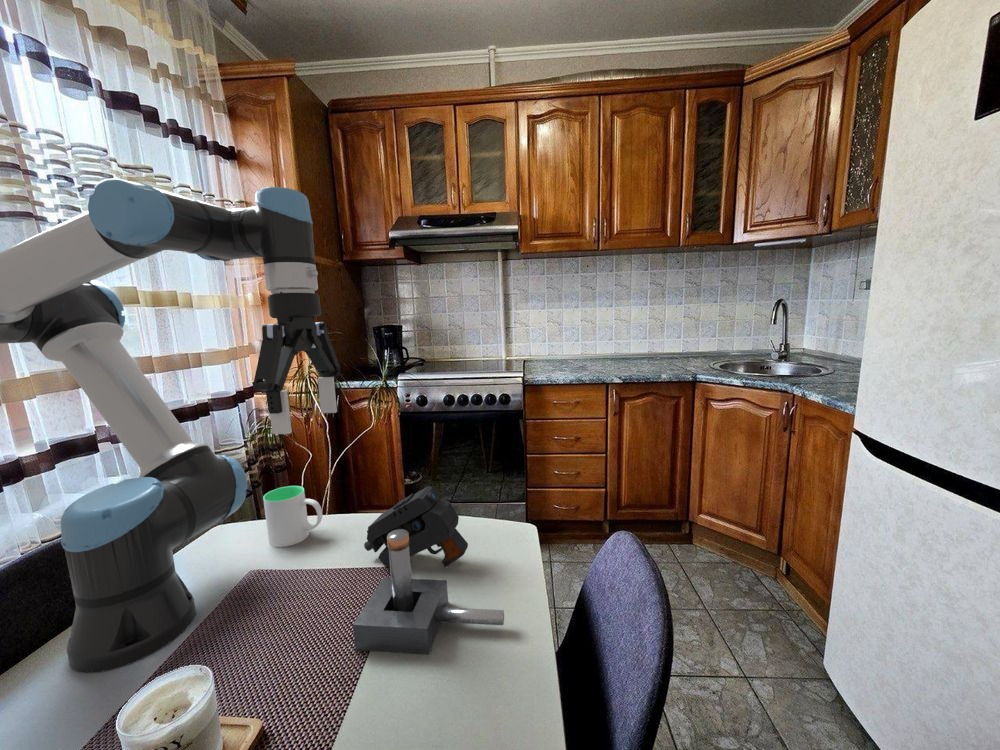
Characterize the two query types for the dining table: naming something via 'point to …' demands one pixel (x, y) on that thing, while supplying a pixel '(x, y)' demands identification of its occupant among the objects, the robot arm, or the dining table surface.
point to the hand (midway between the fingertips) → (307, 422)
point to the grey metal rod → (400, 570)
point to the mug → (288, 515)
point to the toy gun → (420, 527)
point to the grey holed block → (412, 618)
